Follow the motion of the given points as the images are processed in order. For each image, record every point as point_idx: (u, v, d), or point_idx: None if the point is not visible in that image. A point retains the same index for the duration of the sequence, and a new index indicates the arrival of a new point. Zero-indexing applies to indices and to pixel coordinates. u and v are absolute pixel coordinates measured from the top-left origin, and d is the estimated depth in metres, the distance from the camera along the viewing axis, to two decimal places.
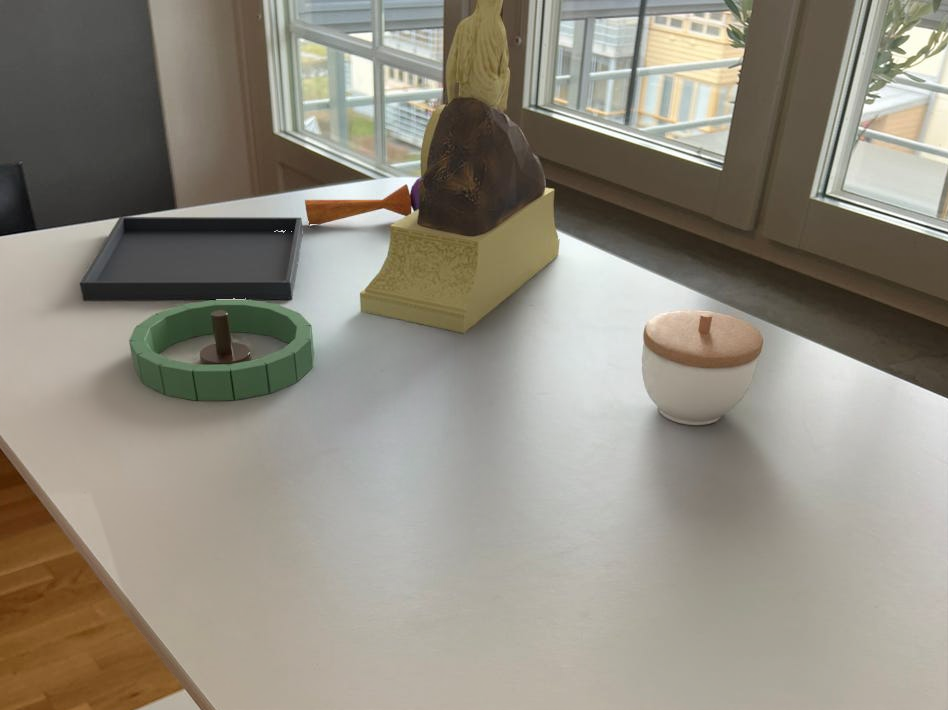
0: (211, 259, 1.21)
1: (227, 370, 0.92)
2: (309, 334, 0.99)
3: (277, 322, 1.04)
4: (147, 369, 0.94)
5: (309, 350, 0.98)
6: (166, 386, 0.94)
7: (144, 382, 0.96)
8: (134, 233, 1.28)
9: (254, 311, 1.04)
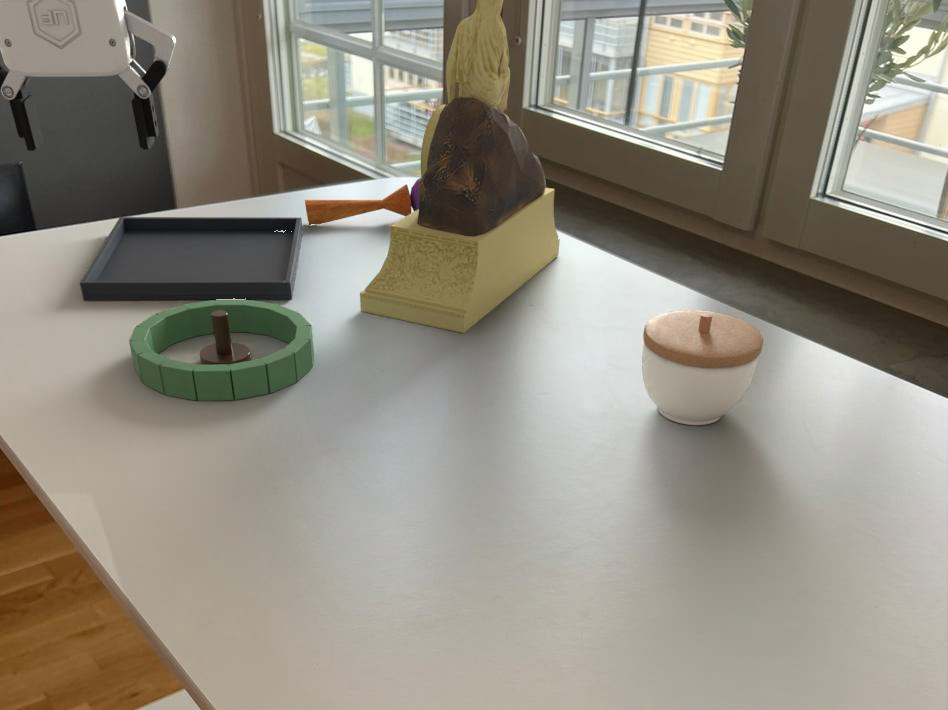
0: (211, 259, 1.21)
1: (227, 370, 0.92)
2: (309, 334, 0.99)
3: (277, 322, 1.04)
4: (147, 369, 0.94)
5: (309, 350, 0.98)
6: (166, 386, 0.94)
7: (144, 382, 0.96)
8: (134, 233, 1.28)
9: (254, 311, 1.04)
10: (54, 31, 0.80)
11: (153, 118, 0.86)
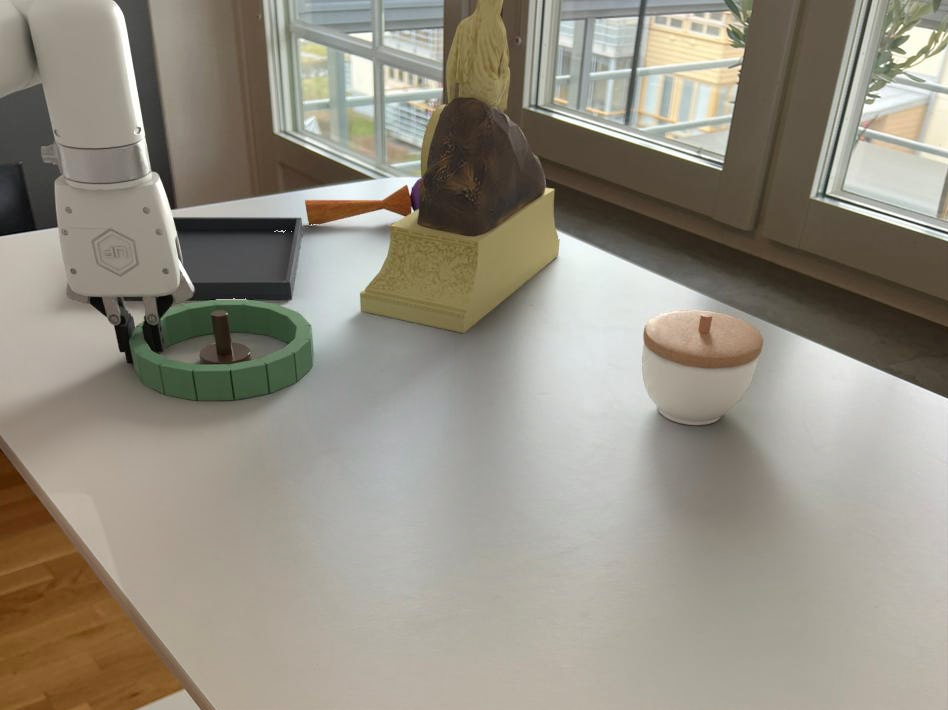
0: (211, 259, 1.21)
1: (227, 370, 0.92)
2: (309, 334, 0.99)
3: (277, 322, 1.04)
4: (147, 369, 0.94)
5: (309, 350, 0.98)
6: (166, 386, 0.94)
7: (144, 382, 0.96)
8: None
9: (254, 311, 1.04)
10: (115, 262, 0.91)
11: (160, 338, 0.98)
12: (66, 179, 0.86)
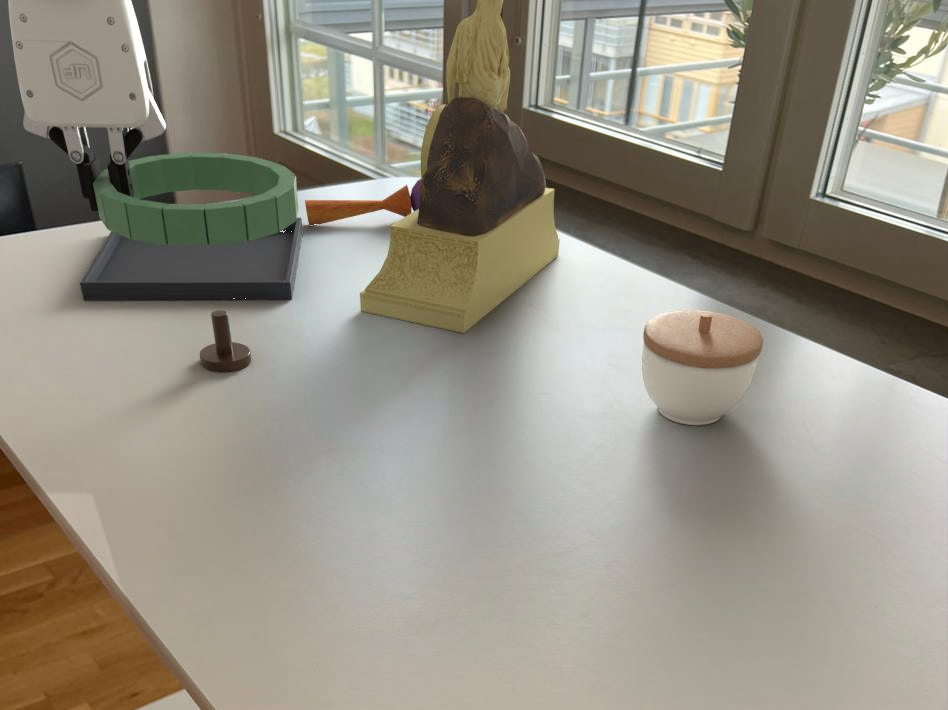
0: (211, 259, 1.21)
1: (200, 209, 0.83)
2: (293, 182, 0.90)
3: (259, 176, 0.94)
4: (112, 210, 0.85)
5: (293, 199, 0.89)
6: (133, 229, 0.84)
7: (109, 227, 0.86)
8: None
9: (233, 164, 0.95)
10: (76, 84, 0.81)
11: (128, 182, 0.88)
12: None
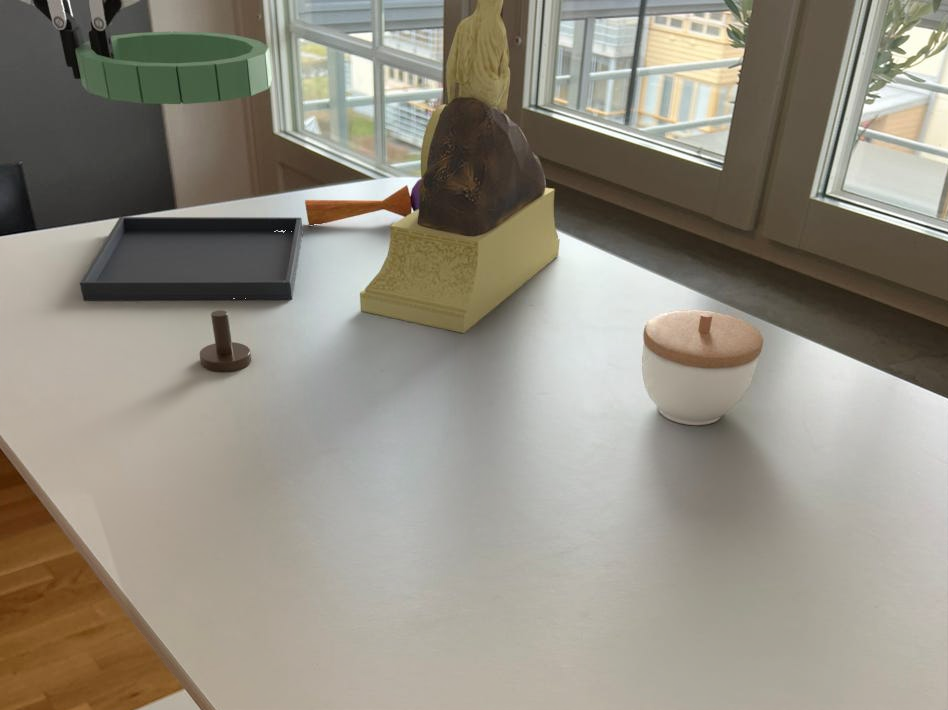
0: (211, 259, 1.21)
1: (173, 66, 0.87)
2: (265, 51, 0.94)
3: (235, 52, 0.99)
4: (91, 71, 0.90)
5: (264, 66, 0.94)
6: (110, 88, 0.89)
7: (89, 90, 0.91)
8: (134, 233, 1.28)
9: (212, 42, 1.00)
10: None
11: (109, 50, 0.93)
12: None
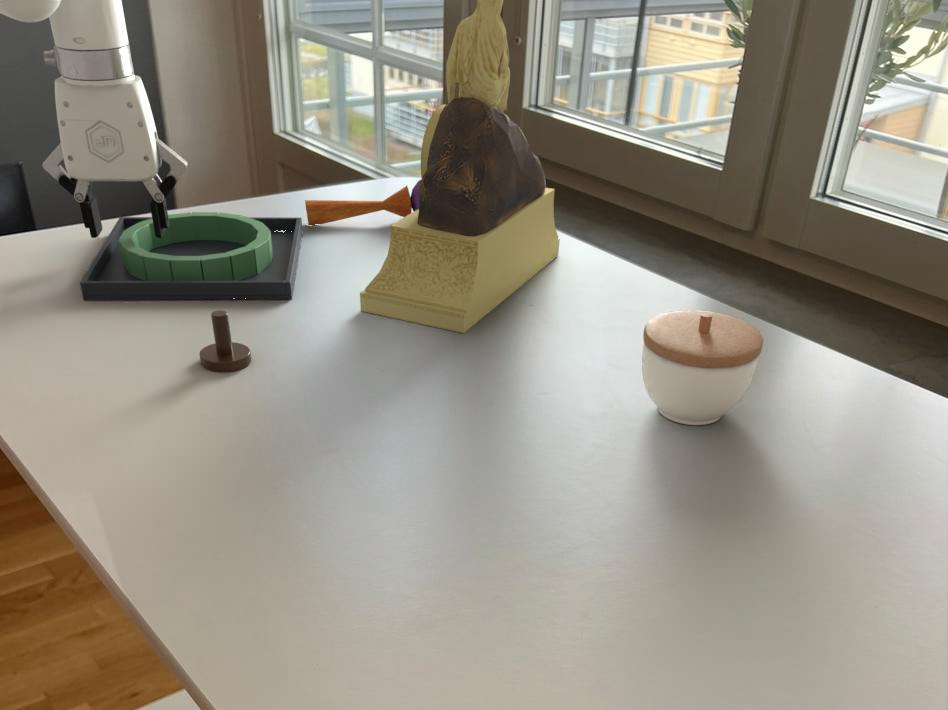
0: None
1: (198, 260, 1.12)
2: (268, 236, 1.19)
3: (243, 230, 1.24)
4: (132, 261, 1.15)
5: (267, 249, 1.19)
6: (148, 274, 1.14)
7: (130, 273, 1.16)
8: None
9: (224, 221, 1.25)
10: (104, 150, 1.10)
11: (165, 215, 1.17)
12: (64, 78, 1.06)
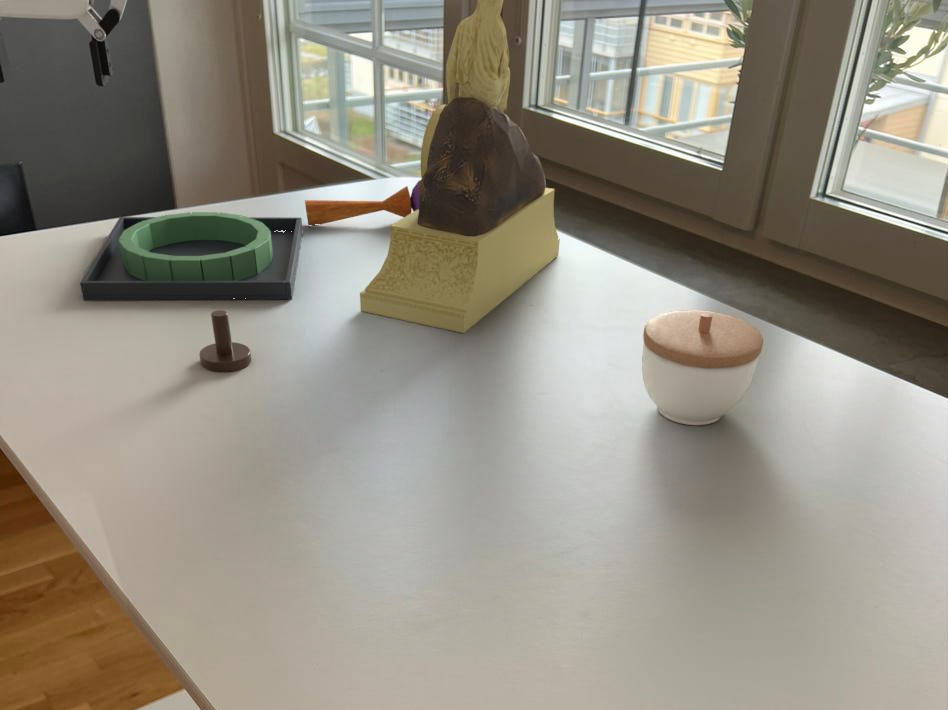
0: None
1: (198, 260, 1.12)
2: (268, 236, 1.19)
3: (243, 230, 1.24)
4: (132, 261, 1.15)
5: (267, 249, 1.19)
6: (148, 274, 1.14)
7: (130, 273, 1.16)
8: None
9: (224, 221, 1.25)
10: None
11: (108, 59, 1.00)
12: None
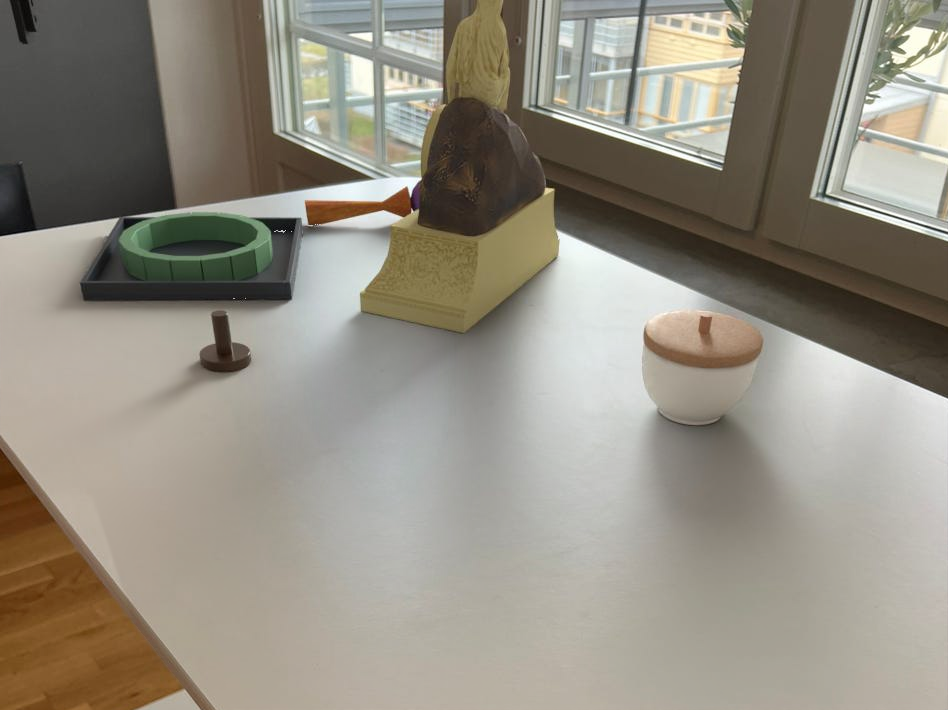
0: None
1: (198, 260, 1.12)
2: (268, 236, 1.19)
3: (243, 230, 1.24)
4: (132, 261, 1.15)
5: (267, 249, 1.19)
6: (148, 274, 1.14)
7: (130, 273, 1.16)
8: None
9: (224, 221, 1.25)
10: None
11: (32, 12, 0.88)
12: None
